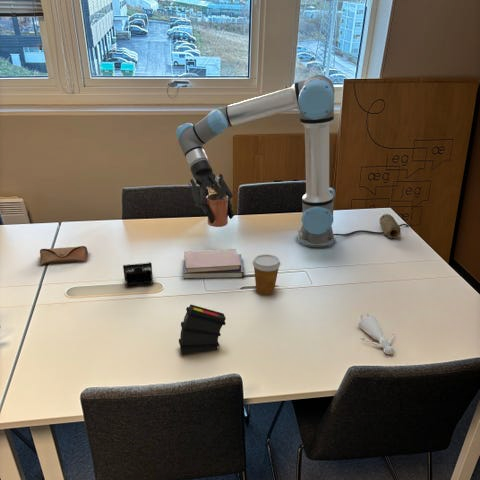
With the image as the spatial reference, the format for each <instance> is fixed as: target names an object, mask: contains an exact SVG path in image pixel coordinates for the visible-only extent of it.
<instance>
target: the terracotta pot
mask: <svg viewBox="0 0 480 480" xmlns="http://www.w3.org/2000/svg"><path fill="white" fill-rule="evenodd" d="M206 204H208V205H209V207H210V209H211V212H212V214H213V216H214V219H215V221H214V222H213V223H210V221H209V218H208V216H207V215H206V216H207V219H206V220H207V224H208V226H209V227H213V228H215V227H216V228H222V227H225V226H227V225H228V224H229V216H228V196H227V195H225V194H217V193H211V194H207V196H206Z"/></svg>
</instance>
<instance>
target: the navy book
mask: <svg viewBox="0 0 480 480" xmlns="http://www.w3.org/2000/svg"><path fill="white" fill-rule="evenodd" d="M237 255H238V258H239V260H240V263H241V270H238V271H222V272H206V273H190V274H187V272H186V265H185V258H184V257H183V258H184V260H183V273H182V275H183V280H219V279H220V280H221V279H222V280H223V279H224V280H225V279H228V280H229V279H244V278H245V277H244V275H245V272H244V264H243V258H242V257H243V256H242V254H241V253H237Z"/></svg>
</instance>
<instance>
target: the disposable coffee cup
mask: <svg viewBox="0 0 480 480" xmlns="http://www.w3.org/2000/svg"><path fill="white" fill-rule="evenodd" d="M252 266H253V271H254V282H255V290H256V293H257V294H259V295H264V296H268V295H271V294H273V293H275V288H276V283H277V278H278V274H279V268H280V266H281V262H280V259H279V257H277V256H276V255H272V254H259V255H256V256H255V257H254V259H253V261H252Z"/></svg>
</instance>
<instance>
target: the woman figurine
mask: <svg viewBox="0 0 480 480" xmlns="http://www.w3.org/2000/svg"><path fill="white" fill-rule="evenodd" d="M359 319H360V320H359V322H358V327H359V328H360V329H362V331H363V332H365V333H366V334H367V335H369V336H370V337H371V338H372V339H374V340H376V341H378V342H379V343H378V342H375V341H372V340H368V339H366V338H365V336H362V337H360V340H361V341H365V342H367V343H370V344H372V345H375V346H377V347H379V348H382V349H383V353H384V354H386V355H392V354H394V352H395V350H394V347H393V346H392V345H391V343H392V341H393V339H394V337H395V335H396V333H395V332H393V333H392V336H391V337H390V338H389V340H388V338H387V337H384V336H385V335H384V333H383V330H382V328H381V326H380V324H379V322H378V319H377V317H376V316H374V315H370V314H369V313H367V314H366V316H363V314H360V317H359Z"/></svg>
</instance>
